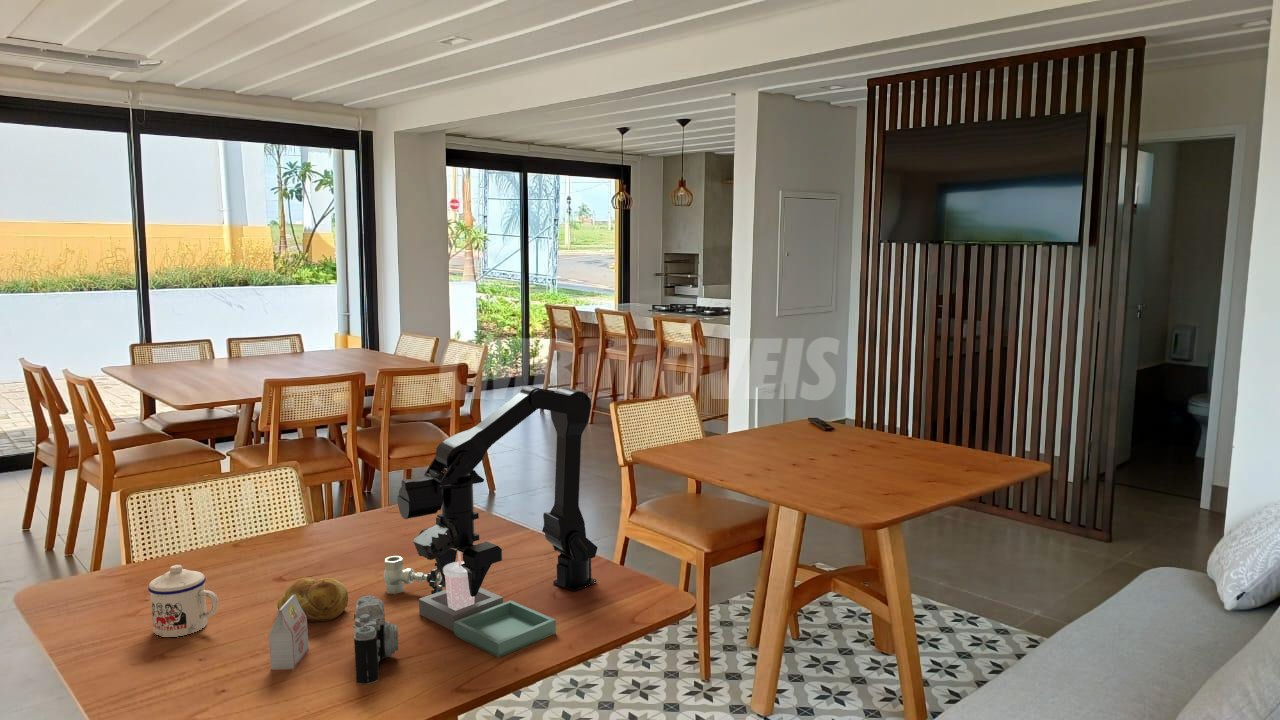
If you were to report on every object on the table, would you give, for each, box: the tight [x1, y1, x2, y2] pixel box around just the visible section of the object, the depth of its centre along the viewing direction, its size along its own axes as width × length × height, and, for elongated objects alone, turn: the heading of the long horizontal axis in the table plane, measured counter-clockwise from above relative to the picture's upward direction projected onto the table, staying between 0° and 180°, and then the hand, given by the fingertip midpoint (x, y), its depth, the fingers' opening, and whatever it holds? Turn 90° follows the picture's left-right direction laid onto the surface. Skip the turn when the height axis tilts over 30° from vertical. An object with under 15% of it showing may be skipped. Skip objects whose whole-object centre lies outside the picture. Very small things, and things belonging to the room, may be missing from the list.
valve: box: [383, 555, 446, 595], centre depth 174 cm, size 7×7×12 cm
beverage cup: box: [443, 550, 475, 611], centre depth 163 cm, size 6×6×14 cm
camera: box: [352, 594, 399, 685], centre depth 145 cm, size 15×7×10 cm, turn 16°
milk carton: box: [268, 594, 309, 670], centre depth 146 cm, size 4×7×10 cm, turn 1°
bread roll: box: [276, 576, 349, 623], centre depth 164 cm, size 13×10×8 cm
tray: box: [453, 600, 557, 659], centre depth 155 cm, size 13×13×2 cm
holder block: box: [418, 586, 504, 632], centre depth 164 cm, size 11×11×3 cm
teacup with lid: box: [148, 564, 219, 637], centre depth 158 cm, size 12×9×12 cm
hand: (460, 590), depth 164 cm, fingers closed on beverage cup, 8 cm apart
